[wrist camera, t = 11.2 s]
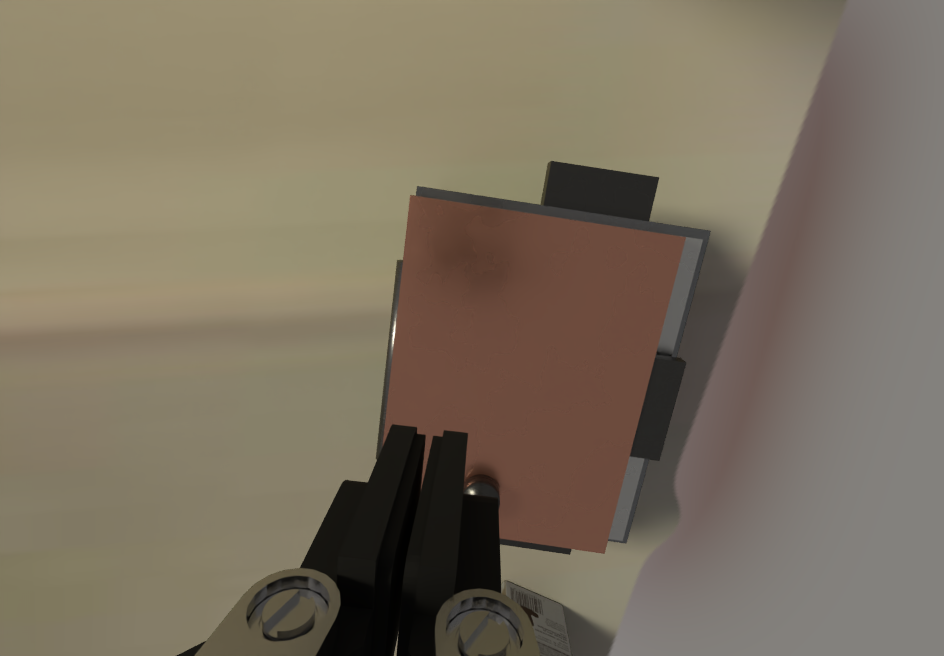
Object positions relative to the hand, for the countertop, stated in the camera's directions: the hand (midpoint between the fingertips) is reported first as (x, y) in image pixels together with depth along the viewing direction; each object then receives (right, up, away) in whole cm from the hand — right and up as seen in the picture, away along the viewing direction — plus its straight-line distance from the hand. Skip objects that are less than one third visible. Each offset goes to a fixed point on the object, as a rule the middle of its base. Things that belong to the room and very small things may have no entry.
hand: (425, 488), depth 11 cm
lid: (+4, 0, +18) cm, 18 cm away
